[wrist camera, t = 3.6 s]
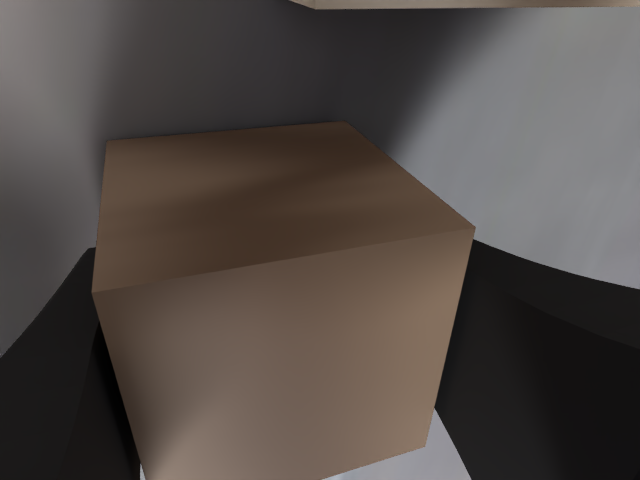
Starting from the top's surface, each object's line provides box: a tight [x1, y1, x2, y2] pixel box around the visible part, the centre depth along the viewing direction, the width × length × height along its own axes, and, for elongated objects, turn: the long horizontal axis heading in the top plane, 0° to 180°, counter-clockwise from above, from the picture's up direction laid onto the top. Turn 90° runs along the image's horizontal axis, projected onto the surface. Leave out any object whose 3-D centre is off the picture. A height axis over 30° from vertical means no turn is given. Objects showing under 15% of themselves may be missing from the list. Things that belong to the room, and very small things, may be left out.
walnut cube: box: [91, 121, 476, 480], centre depth 9 cm, size 5×5×5 cm
